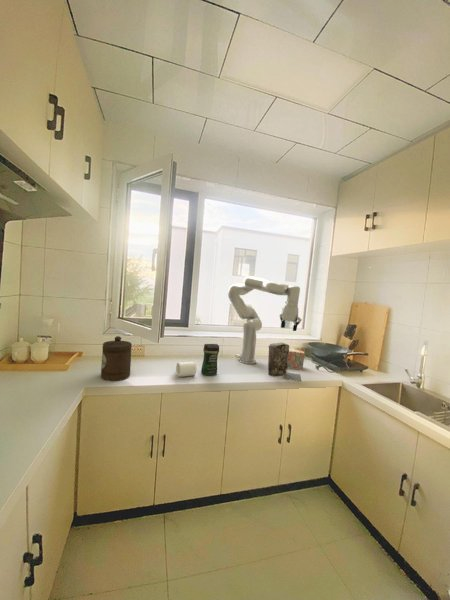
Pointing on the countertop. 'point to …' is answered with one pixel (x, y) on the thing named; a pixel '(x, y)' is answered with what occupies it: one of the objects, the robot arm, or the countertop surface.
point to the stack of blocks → (295, 359)
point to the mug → (186, 369)
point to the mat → (292, 376)
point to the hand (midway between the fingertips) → (288, 329)
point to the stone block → (278, 358)
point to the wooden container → (116, 360)
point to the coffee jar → (210, 359)
